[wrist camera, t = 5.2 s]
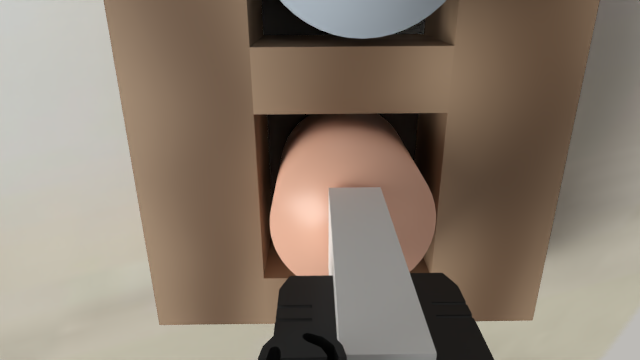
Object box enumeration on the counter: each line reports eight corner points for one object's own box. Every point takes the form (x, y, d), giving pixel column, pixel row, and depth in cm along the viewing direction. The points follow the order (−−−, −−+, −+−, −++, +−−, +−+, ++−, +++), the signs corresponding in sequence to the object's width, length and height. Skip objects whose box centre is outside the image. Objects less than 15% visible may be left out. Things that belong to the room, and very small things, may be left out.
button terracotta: (283, 222, 19) (273, 294, 15) (278, 105, 17) (265, 146, 13) (401, 221, 19) (428, 292, 15) (409, 104, 18) (443, 144, 13)
